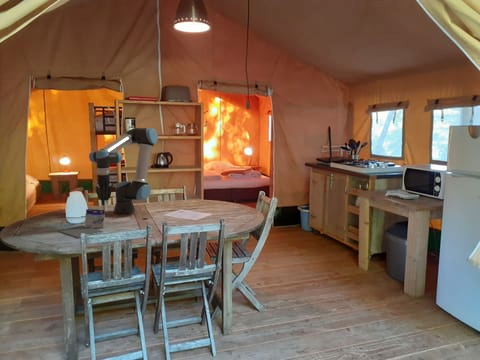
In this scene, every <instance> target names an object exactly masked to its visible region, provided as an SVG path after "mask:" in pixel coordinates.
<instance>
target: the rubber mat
mask: <svg viewBox="0 0 480 360" xmlns="http://www.w3.org/2000/svg"><path fill="white" fill-rule="evenodd" d="M57 231H58V233H61V234H63V235H66V236H70V237H74V238H77V239H80V234H81V233H85V234H93V233H97V232H100V233H103V231H102V230H100V229H97V228H85V225H83V224H81V225H76V226H73V227H69V228H65V229H64V228H63V229H60V230H57ZM97 234H98V233H97ZM93 235H94V234H93Z"/></svg>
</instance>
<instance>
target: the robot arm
mask: <svg viewBox="0 0 480 360" xmlns="http://www.w3.org/2000/svg"><path fill="white" fill-rule="evenodd" d="M158 135H159V134H158V133H157V130H156V129H154V128H152V127H151V128H150V127H134V128H132V129H129V130H126V131H125V132H123V133H122V134H121V136H120V137H118V138H116V139H114V140H113V141H112V142H110V143H109V144H107V145H105V146H104V147H102V148H100V149H98V150H97V151H96V150H94V151H93V150H92V151H91V152H90V153H89V154H88V159H89V161H90V162H91V163H95V164H96V174H97V175H96V179H97V184H96V185H94V186H93V187H94V189H95V192H96V196H97V200H99V201H101V202H100V203H101V206H102V210H105V211H107V210H108V205H109V200H110V199H111V195H112V190H113V186H114V183H111V181H110V165H113V164H119V163H121V162H122V161H123V154H122V153H121V152H119V151H121V150H122V149H124V148H126V147H127V146H130V145H132V144H133V145H134V144H137V146H138V147H139V148H138V155H137V161H136V167H135V175H134V179H133V180H132V181H131V180H129V181H121V182H117V183H115V188H114V189H115V191H114V192H115V193H114V194H115V204H114V209H113V213H114V214H116V215H129V214H133V213H135V211H136V208H135V206H134V203H133V201H134V200H135V201H145V200H147V199H148V198H149V197H150V195H151V187H150V185H149V182H148V173H149V166H150V165H149V164H150V161H151V160H150V159H151V151H152V149H153V148H154V146H155V145H156V144H157V143H158V142H159V141H158V140H159V136H158Z"/></svg>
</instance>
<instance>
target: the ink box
mask: <svg viewBox="0 0 480 360" xmlns="http://www.w3.org/2000/svg"><path fill="white" fill-rule="evenodd" d="M105 211H106V210H103V209H92V208H90V209H87V208H86V211H85V214H84V215H85V217H84V218H85V219H84V220H85V221H84V226H85V228H94V229H97V228H99V229H103V228H104V227H105V214H106V213H105Z"/></svg>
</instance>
